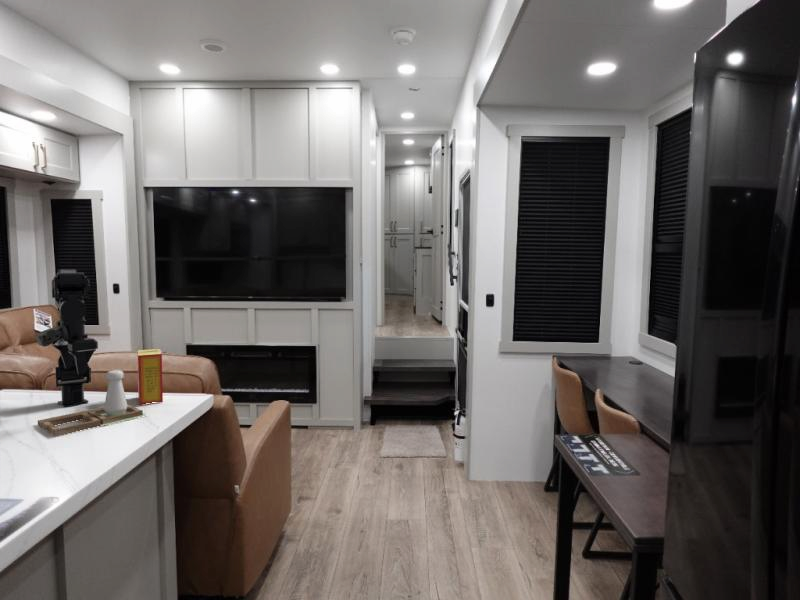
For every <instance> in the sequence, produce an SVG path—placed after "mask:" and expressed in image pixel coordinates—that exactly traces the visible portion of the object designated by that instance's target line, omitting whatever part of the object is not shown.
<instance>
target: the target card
mask: <svg viewBox="0 0 800 600" xmlns="http://www.w3.org/2000/svg"><path fill="white" fill-rule="evenodd" d="M125 413H129V411H126V412H125ZM145 415H147V414H145V413H144V412H143V415H141V416H137V417H133V418H128V419H124V420H120V421H116V422H111V423H107V424H101V425H100V426H103V427H105V426H104V425H107V426H110V425H109V424H111V425H114V424H113V423H116V424H119V423H118V422H120V423H123V422H122V421H124V422H127V421H126V420H128V421H131V419H132V420H135V419H134V418H137V419H139V418H138V417H141V418H143V417H142V416H145ZM102 416H104V417H106V418H107V417H108V416H107V415H106V414H102ZM145 417H146V416H145ZM100 426H99V427H100Z"/></svg>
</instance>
